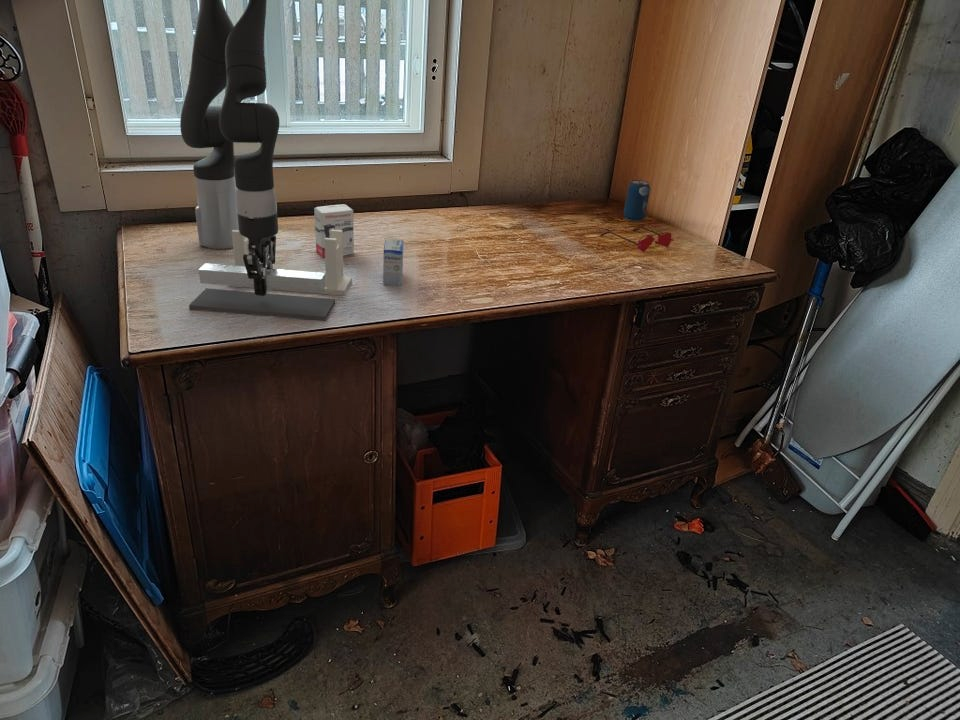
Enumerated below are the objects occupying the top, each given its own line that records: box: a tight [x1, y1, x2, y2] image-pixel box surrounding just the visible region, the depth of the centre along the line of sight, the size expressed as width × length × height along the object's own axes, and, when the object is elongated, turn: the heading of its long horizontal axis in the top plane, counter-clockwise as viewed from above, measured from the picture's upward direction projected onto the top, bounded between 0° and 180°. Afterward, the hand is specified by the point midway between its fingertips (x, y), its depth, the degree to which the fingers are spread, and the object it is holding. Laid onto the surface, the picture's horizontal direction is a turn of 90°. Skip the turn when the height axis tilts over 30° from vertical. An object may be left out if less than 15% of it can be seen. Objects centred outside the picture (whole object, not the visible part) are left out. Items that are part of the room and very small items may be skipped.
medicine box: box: [382, 238, 404, 286], centre depth 161 cm, size 8×4×9 cm, turn 5°
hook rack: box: [232, 229, 353, 296], centre depth 153 cm, size 26×8×12 cm, turn 88°
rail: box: [198, 262, 326, 294], centre depth 142 cm, size 25×4×3 cm, turn 88°
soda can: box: [623, 179, 651, 223], centre depth 220 cm, size 7×7×12 cm
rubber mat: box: [188, 287, 336, 322], centre depth 144 cm, size 28×9×1 cm, turn 88°
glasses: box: [599, 226, 675, 252], centre depth 202 cm, size 14×16×5 cm
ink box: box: [313, 203, 355, 259], centre depth 173 cm, size 8×5×12 cm, turn 123°
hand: (263, 290), depth 143 cm, fingers closed on rail, 3 cm apart
